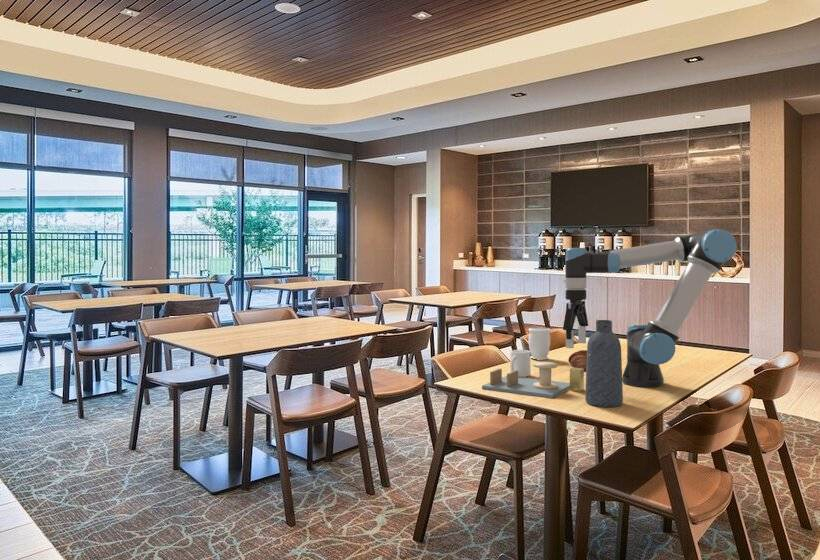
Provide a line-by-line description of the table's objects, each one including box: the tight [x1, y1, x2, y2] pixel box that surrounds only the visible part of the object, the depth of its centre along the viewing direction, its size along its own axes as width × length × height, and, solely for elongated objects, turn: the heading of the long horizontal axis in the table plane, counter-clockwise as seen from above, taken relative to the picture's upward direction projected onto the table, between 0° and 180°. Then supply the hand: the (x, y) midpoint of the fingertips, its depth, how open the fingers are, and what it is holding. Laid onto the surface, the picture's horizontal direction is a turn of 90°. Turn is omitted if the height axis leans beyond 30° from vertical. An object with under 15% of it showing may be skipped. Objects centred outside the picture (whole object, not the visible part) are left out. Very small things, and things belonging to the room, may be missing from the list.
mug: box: [509, 349, 531, 378], centre depth 243 cm, size 12×8×10 cm
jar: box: [528, 327, 551, 360], centre depth 283 cm, size 11×10×15 cm
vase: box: [584, 319, 624, 408], centre depth 197 cm, size 12×12×28 cm
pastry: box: [567, 349, 587, 373], centre depth 261 cm, size 17×15×8 cm
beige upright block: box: [569, 367, 585, 393], centre depth 217 cm, size 4×4×8 cm
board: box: [481, 361, 570, 399], centre depth 222 cm, size 28×22×10 cm
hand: (576, 345), depth 217 cm, fingers open, 13 cm apart
